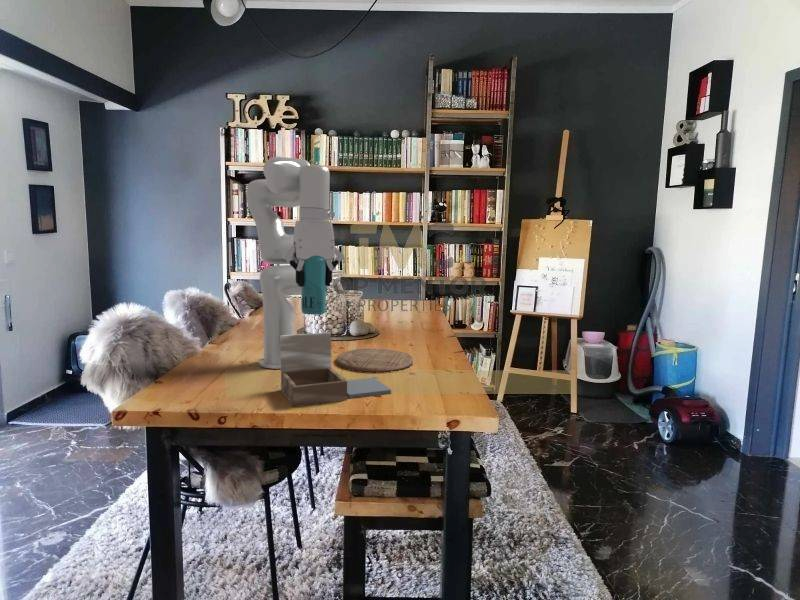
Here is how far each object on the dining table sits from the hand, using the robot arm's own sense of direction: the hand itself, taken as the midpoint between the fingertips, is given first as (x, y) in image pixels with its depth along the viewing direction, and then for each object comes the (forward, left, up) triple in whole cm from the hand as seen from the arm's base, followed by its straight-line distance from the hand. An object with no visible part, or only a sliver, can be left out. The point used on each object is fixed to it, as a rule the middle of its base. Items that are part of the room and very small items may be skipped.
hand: (313, 285), depth 135 cm
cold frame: (0, 0, -29) cm, 29 cm away
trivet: (-25, +28, -30) cm, 48 cm away
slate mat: (0, +14, -29) cm, 33 cm away
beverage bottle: (0, 0, -9) cm, 9 cm away
